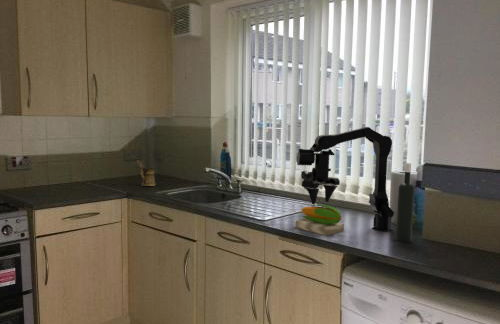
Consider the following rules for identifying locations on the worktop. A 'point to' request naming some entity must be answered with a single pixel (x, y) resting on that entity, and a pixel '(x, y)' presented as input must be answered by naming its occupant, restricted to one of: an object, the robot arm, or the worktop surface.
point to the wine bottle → (405, 208)
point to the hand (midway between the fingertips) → (320, 203)
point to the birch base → (319, 227)
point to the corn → (322, 214)
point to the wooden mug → (146, 175)
